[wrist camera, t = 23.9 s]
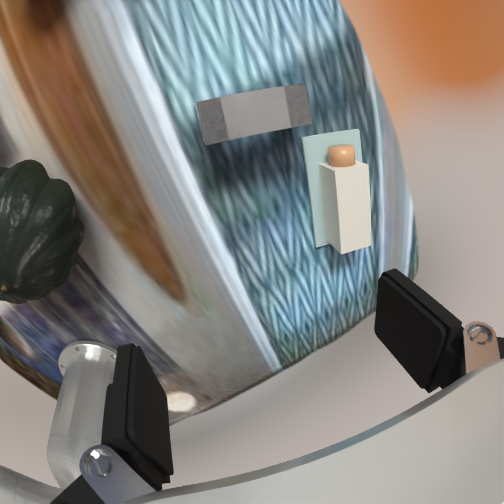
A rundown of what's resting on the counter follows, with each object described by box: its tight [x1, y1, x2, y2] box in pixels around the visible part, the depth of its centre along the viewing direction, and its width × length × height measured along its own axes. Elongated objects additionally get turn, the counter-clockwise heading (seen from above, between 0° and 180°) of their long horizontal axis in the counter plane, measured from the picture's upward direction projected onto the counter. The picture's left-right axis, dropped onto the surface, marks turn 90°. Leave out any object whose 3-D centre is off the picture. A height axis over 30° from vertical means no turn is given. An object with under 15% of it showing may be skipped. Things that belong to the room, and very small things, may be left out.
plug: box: [318, 144, 371, 254], centre depth 34 cm, size 12×4×4 cm, turn 11°
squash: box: [0, 160, 84, 304], centre depth 24 cm, size 14×15×15 cm
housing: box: [194, 84, 312, 146], centre depth 28 cm, size 4×10×6 cm, turn 101°
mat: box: [301, 129, 362, 248], centre depth 36 cm, size 14×8×1 cm, turn 11°
